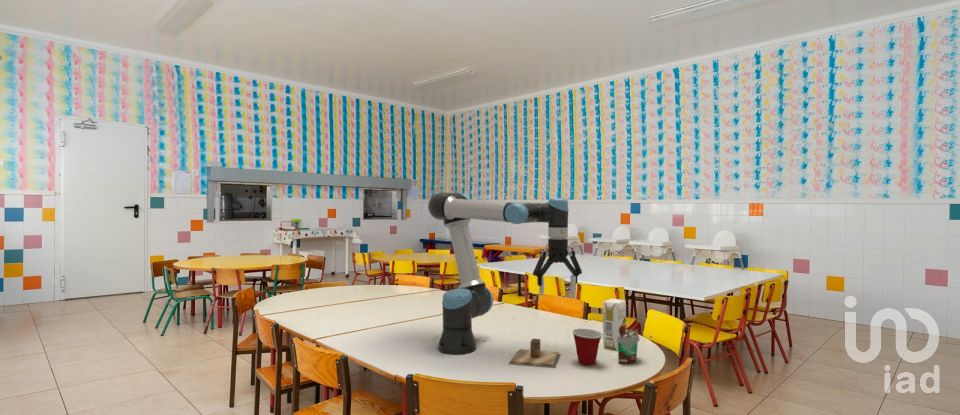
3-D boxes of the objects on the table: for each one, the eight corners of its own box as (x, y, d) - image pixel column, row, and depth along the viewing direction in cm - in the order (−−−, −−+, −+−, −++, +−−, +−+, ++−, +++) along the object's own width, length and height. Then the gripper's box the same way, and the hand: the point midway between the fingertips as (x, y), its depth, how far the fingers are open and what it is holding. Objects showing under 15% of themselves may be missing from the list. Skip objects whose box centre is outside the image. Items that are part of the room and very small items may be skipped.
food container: (634, 367, 179) (634, 339, 179) (617, 364, 183) (617, 336, 183) (643, 358, 190) (643, 331, 190) (627, 355, 193) (626, 329, 193)
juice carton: (600, 347, 204) (600, 300, 203) (611, 343, 210) (611, 297, 210) (618, 351, 198) (617, 303, 198) (628, 346, 205) (628, 300, 205)
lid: (511, 363, 183) (511, 344, 183) (519, 351, 197) (519, 333, 197) (553, 366, 179) (552, 347, 179) (558, 354, 193) (558, 336, 193)
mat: (508, 365, 182) (508, 364, 182) (517, 352, 198) (517, 350, 198) (555, 369, 177) (555, 368, 177) (561, 355, 194) (561, 354, 194)
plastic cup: (598, 371, 175) (598, 336, 175) (568, 367, 180) (568, 333, 180) (606, 362, 185) (605, 329, 185) (577, 358, 190) (577, 326, 190)
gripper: (533, 239, 187) (532, 296, 187) (591, 238, 195) (590, 293, 196) (524, 238, 194) (523, 293, 194) (581, 236, 202) (580, 289, 203)
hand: (557, 293), depth 195 cm, fingers open, 13 cm apart
